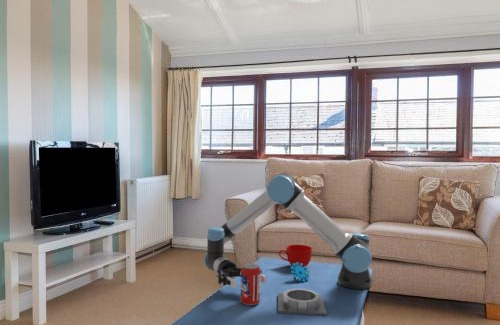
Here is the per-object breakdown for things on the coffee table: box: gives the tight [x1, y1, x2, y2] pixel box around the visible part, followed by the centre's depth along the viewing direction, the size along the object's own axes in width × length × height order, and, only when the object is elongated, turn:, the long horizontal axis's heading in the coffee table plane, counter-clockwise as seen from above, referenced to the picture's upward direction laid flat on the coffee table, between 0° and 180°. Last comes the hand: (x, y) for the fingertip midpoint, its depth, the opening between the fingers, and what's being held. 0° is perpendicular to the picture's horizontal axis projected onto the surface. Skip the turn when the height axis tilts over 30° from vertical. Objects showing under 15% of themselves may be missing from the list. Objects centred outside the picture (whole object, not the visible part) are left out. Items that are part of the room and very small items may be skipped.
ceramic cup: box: [278, 244, 313, 267], centre depth 214 cm, size 13×17×10 cm
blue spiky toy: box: [290, 262, 311, 283], centre depth 196 cm, size 11×6×10 cm
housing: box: [277, 288, 328, 316], centre depth 165 cm, size 18×18×4 cm
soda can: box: [240, 262, 262, 306], centre depth 166 cm, size 8×8×15 cm
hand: (250, 282), depth 165 cm, fingers open, 13 cm apart
